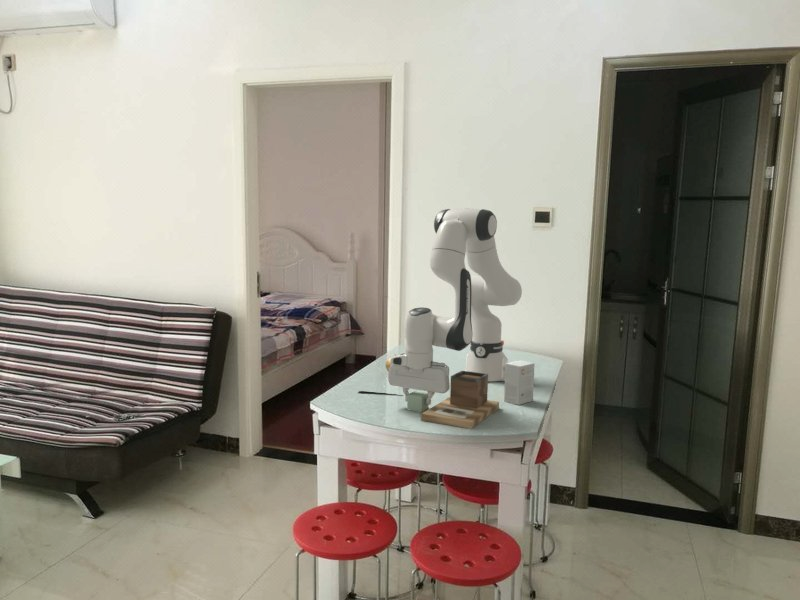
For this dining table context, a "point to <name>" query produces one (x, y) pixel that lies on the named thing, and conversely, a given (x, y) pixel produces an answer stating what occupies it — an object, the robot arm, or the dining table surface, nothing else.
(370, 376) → the dining table surface
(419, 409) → the sage block
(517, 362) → the small box
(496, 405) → the oak base board
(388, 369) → the onion
